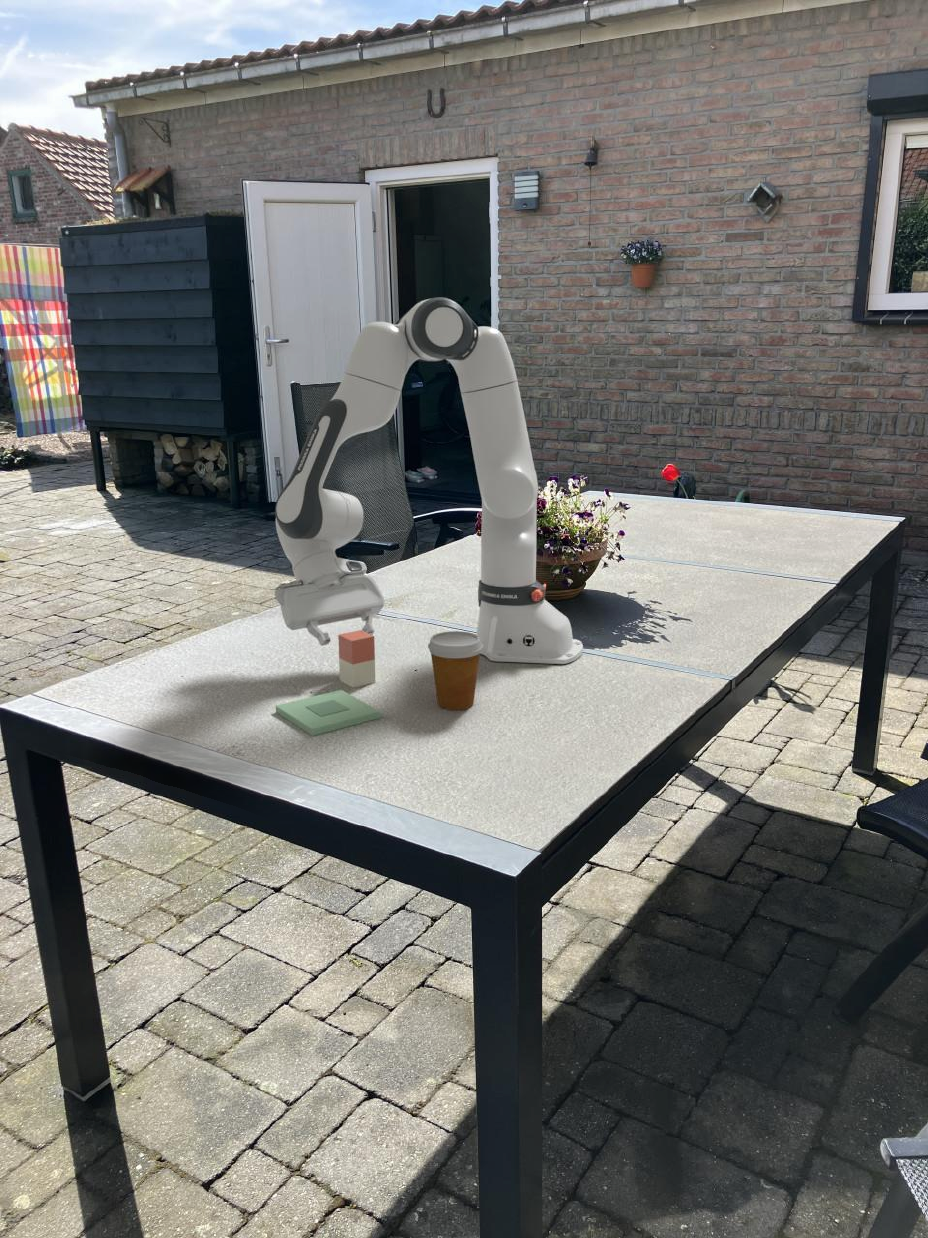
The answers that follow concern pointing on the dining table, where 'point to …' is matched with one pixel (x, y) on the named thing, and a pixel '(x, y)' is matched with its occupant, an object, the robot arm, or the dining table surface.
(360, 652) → the pink and cream block
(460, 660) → the disposable coffee cup
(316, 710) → the baseplate
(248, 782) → the dining table surface
